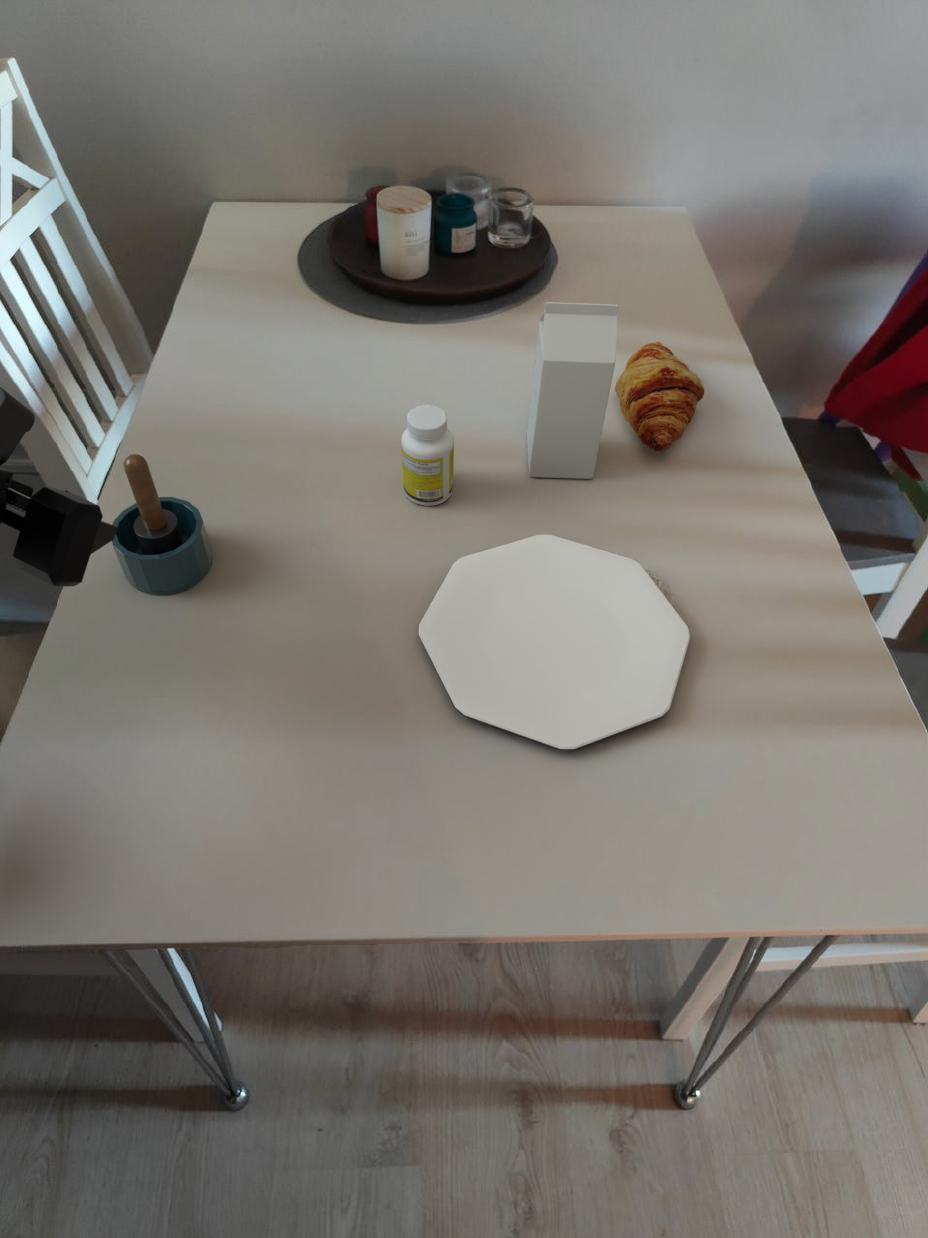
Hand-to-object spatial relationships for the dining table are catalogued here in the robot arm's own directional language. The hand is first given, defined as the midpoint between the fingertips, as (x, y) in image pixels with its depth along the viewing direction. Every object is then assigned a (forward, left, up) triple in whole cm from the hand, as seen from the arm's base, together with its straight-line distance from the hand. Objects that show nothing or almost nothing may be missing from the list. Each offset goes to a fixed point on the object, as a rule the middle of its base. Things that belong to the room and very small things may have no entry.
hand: (71, 512), depth 70 cm
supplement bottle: (+30, +16, -13) cm, 36 cm away
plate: (+41, -5, -13) cm, 43 cm away
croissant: (+58, +30, -13) cm, 67 cm away
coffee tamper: (+4, +6, -12) cm, 14 cm away
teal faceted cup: (+4, +6, -13) cm, 15 cm away
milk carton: (+45, +21, -13) cm, 51 cm away
